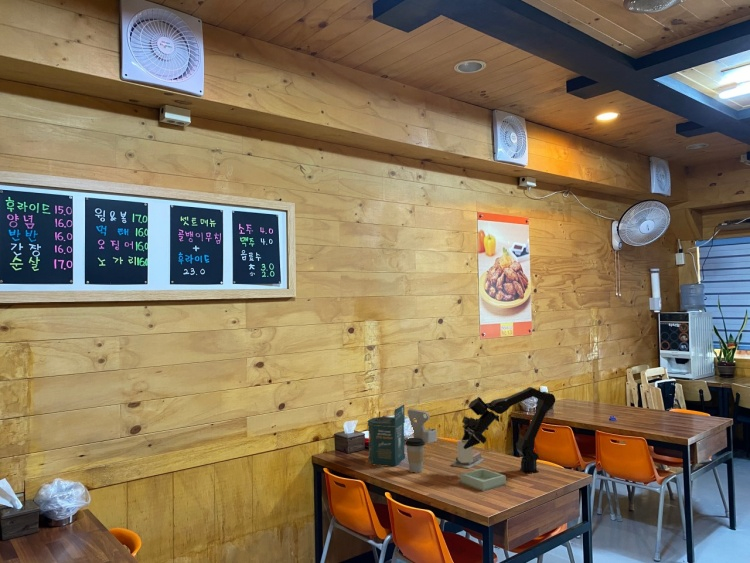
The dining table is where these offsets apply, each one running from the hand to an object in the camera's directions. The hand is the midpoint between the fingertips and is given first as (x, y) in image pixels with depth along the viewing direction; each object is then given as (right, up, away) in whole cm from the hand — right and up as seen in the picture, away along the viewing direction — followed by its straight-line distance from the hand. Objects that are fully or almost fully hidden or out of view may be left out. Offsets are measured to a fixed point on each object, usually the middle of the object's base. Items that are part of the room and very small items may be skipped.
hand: (462, 446), depth 265 cm
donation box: (-36, -15, +26) cm, 46 cm away
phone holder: (-13, -16, +70) cm, 73 cm away
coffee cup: (-21, -14, +7) cm, 27 cm away
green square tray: (+7, -13, -13) cm, 20 cm away
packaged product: (+6, -15, +20) cm, 26 cm away
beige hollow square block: (+1, -7, 0) cm, 7 cm away
